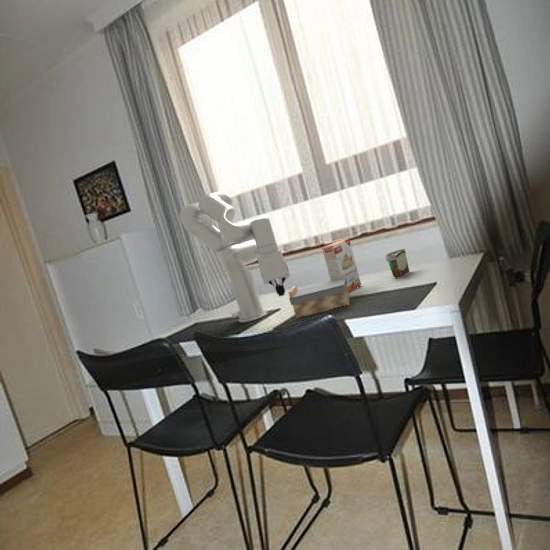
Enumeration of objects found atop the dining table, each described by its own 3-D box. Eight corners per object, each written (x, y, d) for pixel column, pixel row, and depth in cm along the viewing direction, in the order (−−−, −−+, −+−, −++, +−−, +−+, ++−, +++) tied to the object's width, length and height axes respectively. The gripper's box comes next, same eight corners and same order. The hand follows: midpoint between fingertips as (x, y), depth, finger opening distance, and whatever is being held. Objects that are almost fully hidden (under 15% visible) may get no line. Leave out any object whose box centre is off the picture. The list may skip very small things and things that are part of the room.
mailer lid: (291, 305, 171) (287, 293, 171) (297, 296, 186) (293, 285, 185) (345, 291, 167) (342, 279, 166) (347, 283, 181) (344, 272, 180)
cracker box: (347, 295, 186) (333, 245, 183) (334, 297, 190) (320, 248, 187) (362, 285, 196) (349, 237, 194) (350, 287, 200) (337, 240, 198)
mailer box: (296, 317, 173) (291, 300, 172) (301, 309, 185) (296, 292, 184) (349, 305, 168) (343, 286, 167) (350, 297, 181) (345, 280, 180)
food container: (397, 273, 201) (391, 251, 199) (410, 271, 197) (404, 248, 196) (386, 281, 191) (380, 257, 190) (400, 278, 187) (394, 255, 186)
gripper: (247, 256, 175) (261, 302, 177) (284, 245, 171) (299, 292, 173) (252, 253, 182) (265, 298, 184) (288, 243, 179) (301, 288, 181)
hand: (281, 295), depth 179 cm, fingers closed
